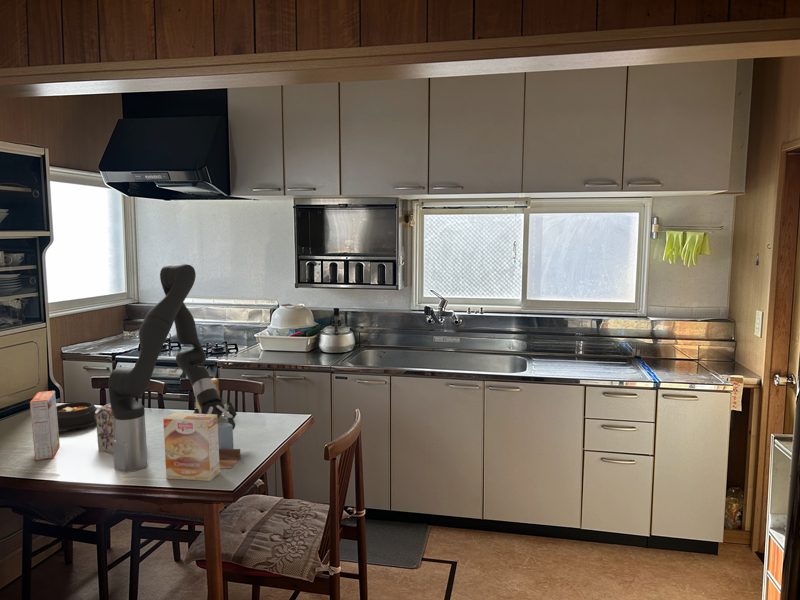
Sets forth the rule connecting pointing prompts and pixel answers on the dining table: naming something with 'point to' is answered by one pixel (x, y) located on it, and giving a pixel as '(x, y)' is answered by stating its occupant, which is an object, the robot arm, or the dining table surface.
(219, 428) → the slate block
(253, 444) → the dining table surface
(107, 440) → the decorative jar
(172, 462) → the coffeecake box
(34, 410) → the cracker box
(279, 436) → the dining table surface
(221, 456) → the corner arena
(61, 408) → the casserole
